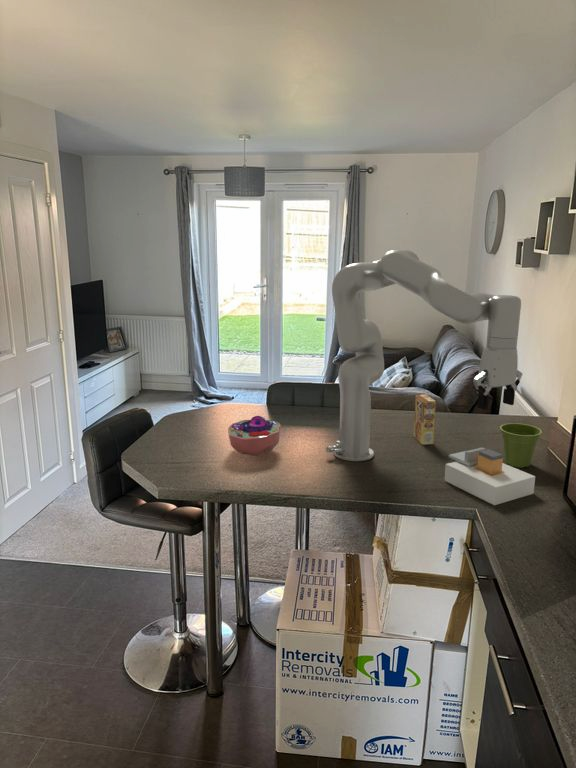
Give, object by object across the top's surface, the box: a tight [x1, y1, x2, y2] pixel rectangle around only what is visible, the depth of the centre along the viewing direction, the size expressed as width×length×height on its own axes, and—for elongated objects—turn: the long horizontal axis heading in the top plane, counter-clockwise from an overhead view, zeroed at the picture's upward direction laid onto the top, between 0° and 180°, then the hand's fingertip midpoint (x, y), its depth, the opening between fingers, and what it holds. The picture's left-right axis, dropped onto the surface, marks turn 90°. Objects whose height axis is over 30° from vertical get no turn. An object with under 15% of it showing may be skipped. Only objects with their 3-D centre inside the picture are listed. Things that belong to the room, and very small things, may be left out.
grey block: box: [448, 447, 487, 466], centre depth 162 cm, size 7×8×4 cm
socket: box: [444, 461, 536, 506], centre depth 156 cm, size 15×18×5 cm
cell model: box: [227, 415, 281, 457], centre depth 181 cm, size 17×20×11 cm
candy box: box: [413, 394, 437, 446], centre depth 192 cm, size 9×4×15 cm, turn 8°
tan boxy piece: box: [477, 448, 504, 476], centre depth 156 cm, size 4×5×9 cm
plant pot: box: [499, 422, 543, 469], centre depth 172 cm, size 12×12×11 cm
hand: (495, 406), depth 151 cm, fingers open, 9 cm apart
